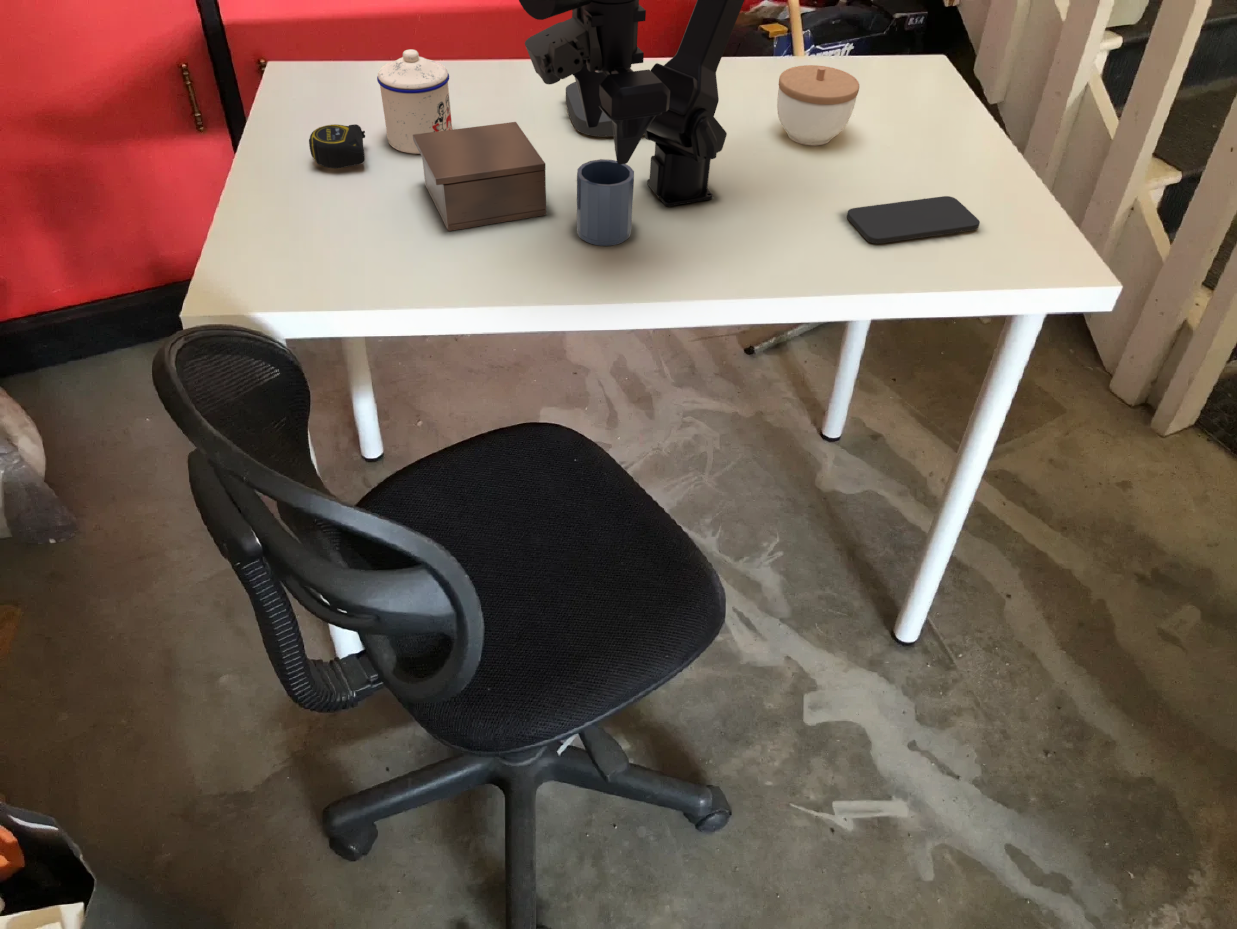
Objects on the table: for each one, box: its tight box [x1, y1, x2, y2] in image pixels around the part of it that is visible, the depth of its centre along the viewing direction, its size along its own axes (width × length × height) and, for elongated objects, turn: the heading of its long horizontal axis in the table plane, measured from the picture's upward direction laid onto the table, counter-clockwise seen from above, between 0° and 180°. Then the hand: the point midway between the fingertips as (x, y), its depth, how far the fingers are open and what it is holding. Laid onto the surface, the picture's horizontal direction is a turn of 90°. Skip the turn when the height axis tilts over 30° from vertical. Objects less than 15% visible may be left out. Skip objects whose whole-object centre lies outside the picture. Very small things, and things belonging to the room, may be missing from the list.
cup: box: [576, 158, 635, 247], centre depth 108 cm, size 6×6×8 cm
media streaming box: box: [565, 81, 645, 137], centre depth 132 cm, size 15×15×3 cm
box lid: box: [413, 121, 546, 185], centre depth 110 cm, size 13×12×1 cm
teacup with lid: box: [376, 48, 453, 155], centre depth 123 cm, size 12×9×12 cm
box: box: [421, 157, 547, 232], centre depth 113 cm, size 12×12×6 cm
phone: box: [846, 195, 981, 245], centre depth 114 cm, size 7×1×15 cm
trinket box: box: [776, 64, 860, 147], centre depth 128 cm, size 11×11×9 cm
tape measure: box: [308, 123, 366, 169], centre depth 119 cm, size 7×7×4 cm
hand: (606, 144), depth 103 cm, fingers open, 9 cm apart
